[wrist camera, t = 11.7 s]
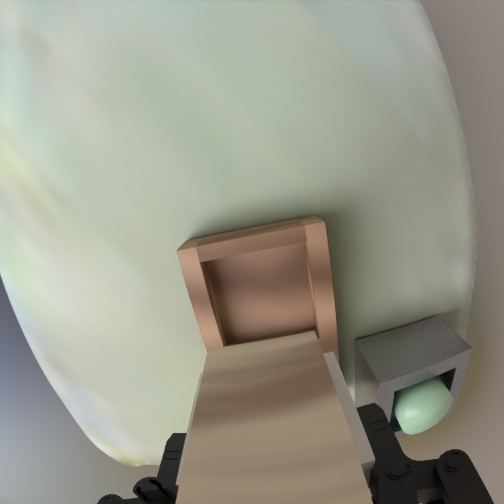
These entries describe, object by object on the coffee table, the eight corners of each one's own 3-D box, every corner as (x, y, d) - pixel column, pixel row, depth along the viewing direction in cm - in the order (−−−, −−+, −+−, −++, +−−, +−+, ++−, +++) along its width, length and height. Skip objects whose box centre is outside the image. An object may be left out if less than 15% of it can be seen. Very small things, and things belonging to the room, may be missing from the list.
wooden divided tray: (185, 240, 24) (176, 250, 21) (315, 214, 24) (324, 221, 21) (237, 410, 30) (236, 431, 27) (334, 393, 29) (340, 413, 26)
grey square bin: (354, 339, 27) (378, 383, 20) (437, 315, 27) (471, 347, 20) (355, 405, 30) (371, 448, 23) (427, 381, 29) (451, 416, 22)
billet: (208, 348, 13) (165, 556, 4) (314, 330, 13) (383, 539, 3) (233, 417, 14) (223, 581, 5) (322, 403, 14) (362, 565, 5)
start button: (394, 384, 22) (406, 405, 19) (443, 365, 22) (458, 383, 19) (388, 420, 24) (398, 441, 21) (434, 403, 23) (445, 421, 20)
